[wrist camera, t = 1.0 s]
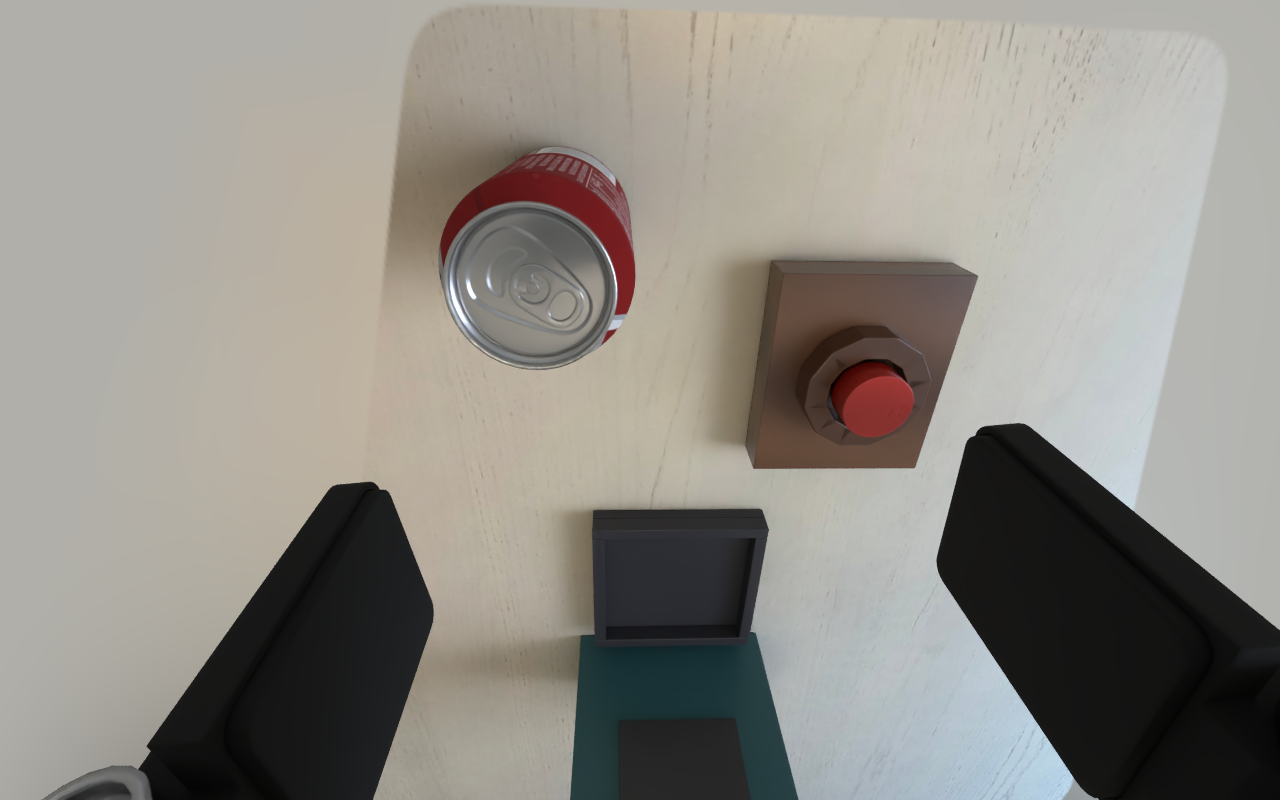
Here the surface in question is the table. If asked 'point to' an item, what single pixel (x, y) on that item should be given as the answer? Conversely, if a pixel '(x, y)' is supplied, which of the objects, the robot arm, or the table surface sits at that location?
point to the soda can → (540, 260)
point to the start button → (872, 399)
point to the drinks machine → (677, 725)
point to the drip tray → (676, 576)
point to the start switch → (850, 356)
